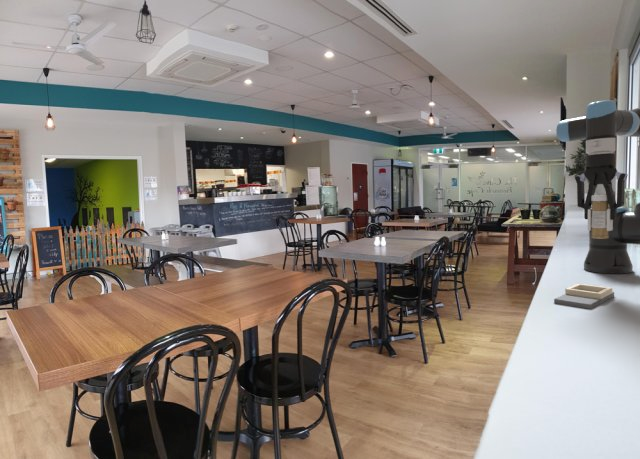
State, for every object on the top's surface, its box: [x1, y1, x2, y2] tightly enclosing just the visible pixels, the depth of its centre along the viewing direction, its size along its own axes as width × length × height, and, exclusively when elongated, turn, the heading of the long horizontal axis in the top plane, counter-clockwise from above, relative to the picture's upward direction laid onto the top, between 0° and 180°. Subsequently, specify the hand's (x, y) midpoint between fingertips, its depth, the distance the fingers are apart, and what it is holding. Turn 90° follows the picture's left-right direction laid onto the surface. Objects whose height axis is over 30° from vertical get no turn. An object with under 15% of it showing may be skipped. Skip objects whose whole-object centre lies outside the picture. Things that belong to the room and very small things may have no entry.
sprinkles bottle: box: [591, 193, 610, 239], centre depth 128 cm, size 5×5×13 cm
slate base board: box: [553, 283, 615, 310], centre depth 119 cm, size 18×9×3 cm, turn 128°
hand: (600, 230), depth 129 cm, fingers closed on sprinkles bottle, 4 cm apart
